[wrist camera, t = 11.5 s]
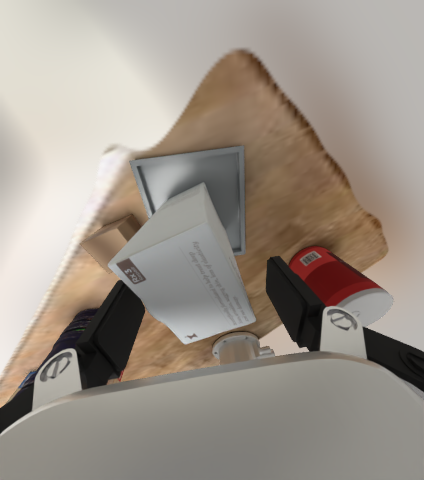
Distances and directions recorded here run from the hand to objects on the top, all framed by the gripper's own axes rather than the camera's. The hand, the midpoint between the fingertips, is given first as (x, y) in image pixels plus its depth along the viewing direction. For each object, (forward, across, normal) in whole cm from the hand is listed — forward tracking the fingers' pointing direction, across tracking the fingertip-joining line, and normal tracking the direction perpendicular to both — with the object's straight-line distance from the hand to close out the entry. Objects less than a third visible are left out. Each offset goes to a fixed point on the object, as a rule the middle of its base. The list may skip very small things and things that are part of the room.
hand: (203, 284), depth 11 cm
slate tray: (+14, 0, -1) cm, 14 cm away
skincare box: (+13, 0, -1) cm, 13 cm away
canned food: (+14, -19, +12) cm, 27 cm away
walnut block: (+14, +11, +1) cm, 18 cm away
